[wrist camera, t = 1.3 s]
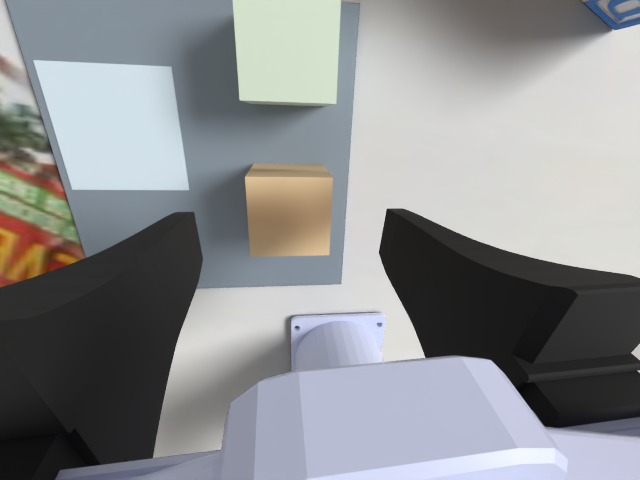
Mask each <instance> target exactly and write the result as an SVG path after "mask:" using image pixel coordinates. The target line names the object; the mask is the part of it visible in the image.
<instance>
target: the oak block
mask: <svg viewBox="0 0 640 480" xmlns="http://www.w3.org/2000/svg"><path fill="white" fill-rule="evenodd" d="M245 185H246V200H247V214H248V228H249V243H250V257H265V256H317V255H329V252H330V230H331V208H332V186H333V177H332V176H331V174H330V173H329V172H328V170H327V169H326V168H325V166H324V165H323V164H253V166H252V167H251V169H250V170H249V172H248V173H247V174H246V176H245Z"/></svg>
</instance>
